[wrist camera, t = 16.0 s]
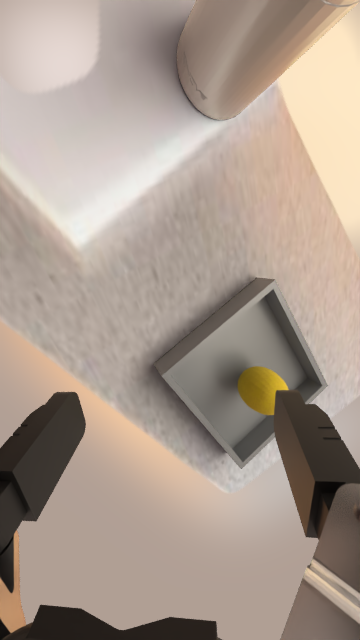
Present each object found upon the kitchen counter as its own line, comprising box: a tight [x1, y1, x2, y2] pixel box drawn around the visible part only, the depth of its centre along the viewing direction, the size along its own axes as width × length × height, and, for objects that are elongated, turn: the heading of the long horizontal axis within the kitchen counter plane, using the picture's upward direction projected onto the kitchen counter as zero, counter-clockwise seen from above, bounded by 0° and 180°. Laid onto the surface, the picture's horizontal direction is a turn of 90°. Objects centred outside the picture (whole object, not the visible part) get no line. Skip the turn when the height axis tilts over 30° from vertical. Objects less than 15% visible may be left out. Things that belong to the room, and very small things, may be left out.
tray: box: [154, 278, 328, 469], centre depth 36 cm, size 18×20×4 cm
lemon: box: [238, 366, 289, 415], centre depth 33 cm, size 6×6×8 cm
